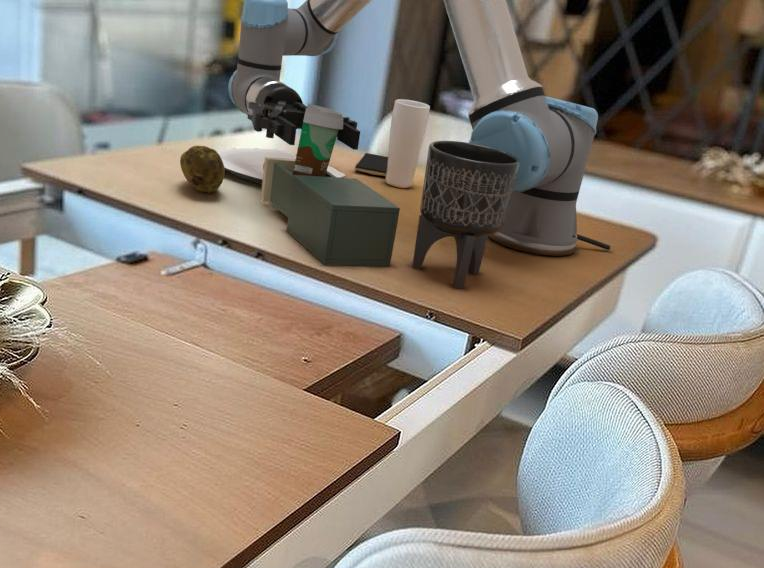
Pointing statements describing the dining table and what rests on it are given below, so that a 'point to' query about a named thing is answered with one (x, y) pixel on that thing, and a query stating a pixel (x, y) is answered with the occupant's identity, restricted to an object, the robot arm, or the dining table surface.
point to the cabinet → (342, 221)
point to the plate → (256, 162)
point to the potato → (203, 168)
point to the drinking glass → (406, 141)
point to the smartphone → (373, 164)
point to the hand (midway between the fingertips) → (325, 138)
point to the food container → (317, 140)
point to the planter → (464, 200)
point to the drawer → (279, 182)
